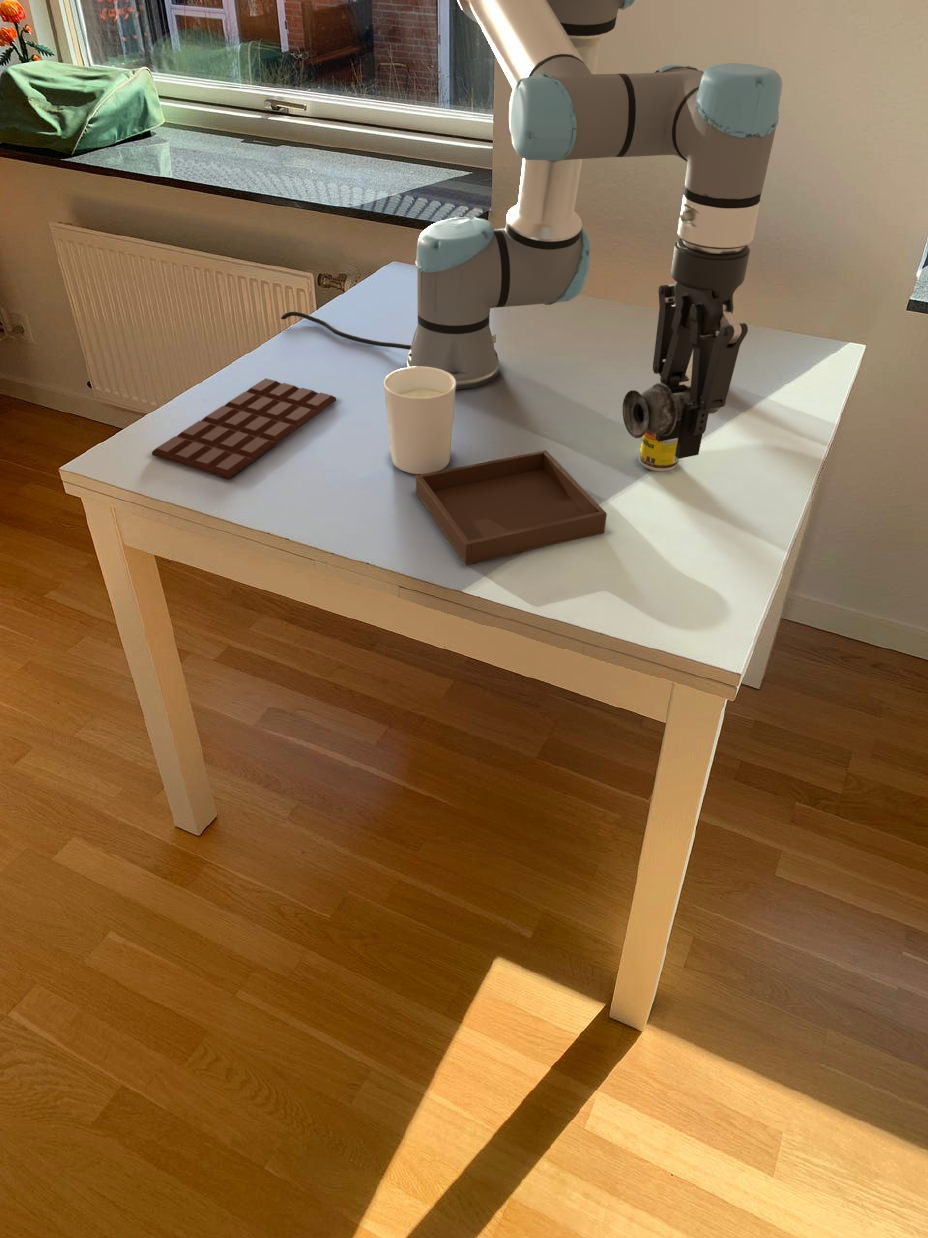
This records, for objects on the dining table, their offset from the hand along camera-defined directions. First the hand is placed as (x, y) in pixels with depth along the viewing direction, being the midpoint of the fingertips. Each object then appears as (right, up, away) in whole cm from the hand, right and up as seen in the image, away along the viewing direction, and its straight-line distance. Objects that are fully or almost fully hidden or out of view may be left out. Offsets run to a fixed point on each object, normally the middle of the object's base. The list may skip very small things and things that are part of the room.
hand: (676, 446), depth 112 cm
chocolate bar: (-57, +8, +32) cm, 66 cm away
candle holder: (-31, +2, +25) cm, 40 cm away
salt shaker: (-6, +3, -5) cm, 8 cm away
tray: (-19, -6, +15) cm, 25 cm away
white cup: (+12, +20, +48) cm, 53 cm away
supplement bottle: (+3, +2, +26) cm, 26 cm away
